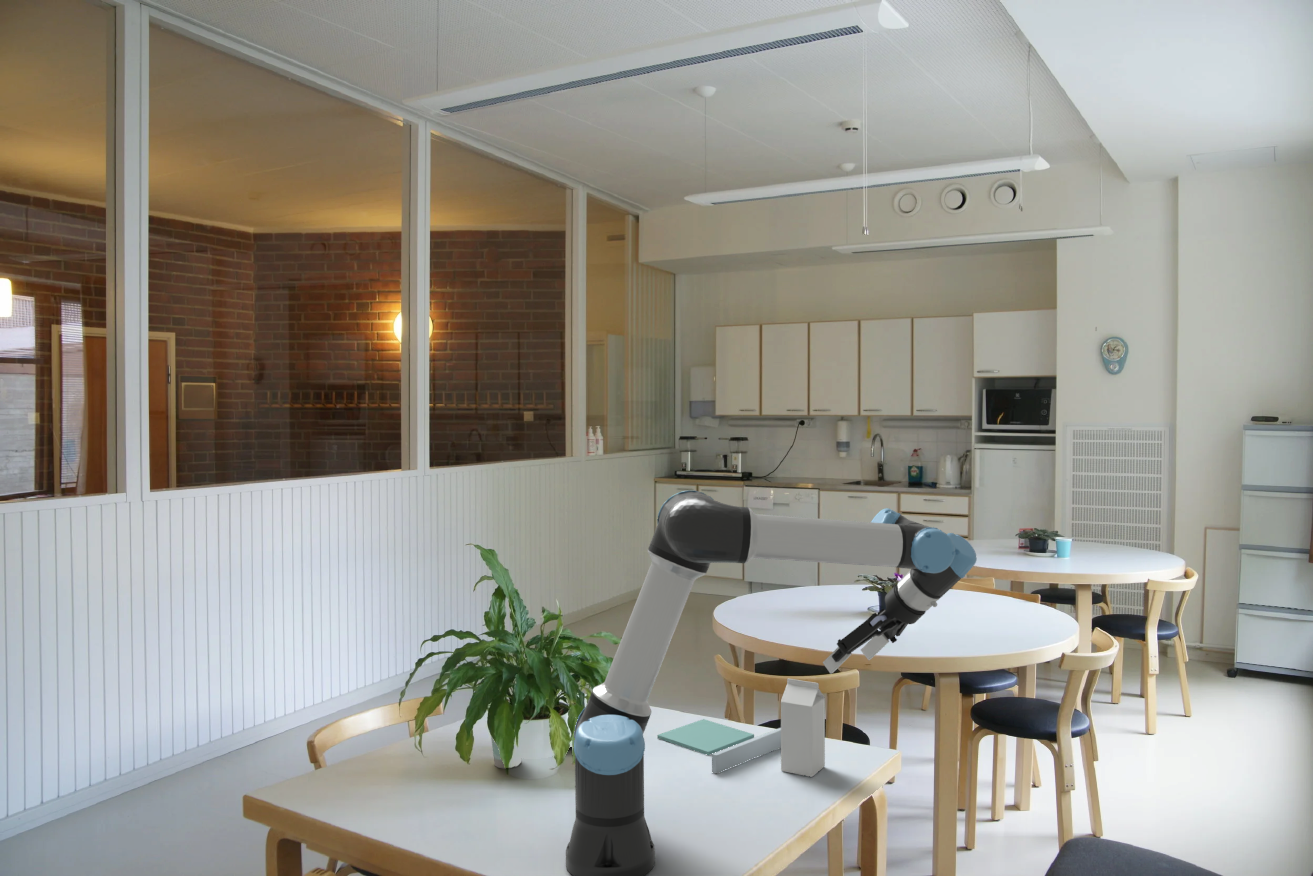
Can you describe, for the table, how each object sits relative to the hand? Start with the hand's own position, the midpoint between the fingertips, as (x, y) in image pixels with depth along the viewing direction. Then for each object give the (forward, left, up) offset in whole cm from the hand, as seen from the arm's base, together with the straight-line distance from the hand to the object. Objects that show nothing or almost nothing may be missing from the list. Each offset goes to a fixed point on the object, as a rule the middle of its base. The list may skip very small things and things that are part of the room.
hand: (846, 661), depth 194 cm
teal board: (0, +39, -25) cm, 46 cm away
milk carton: (0, +11, -25) cm, 28 cm away
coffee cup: (-42, +59, -25) cm, 77 cm away
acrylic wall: (-1, +23, -25) cm, 34 cm away
